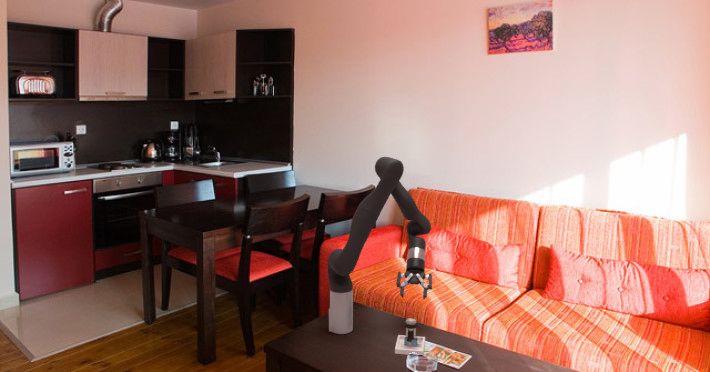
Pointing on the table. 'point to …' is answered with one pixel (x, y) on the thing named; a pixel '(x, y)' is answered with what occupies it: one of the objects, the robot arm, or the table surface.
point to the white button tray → (407, 349)
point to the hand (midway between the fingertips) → (413, 297)
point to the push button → (411, 332)
